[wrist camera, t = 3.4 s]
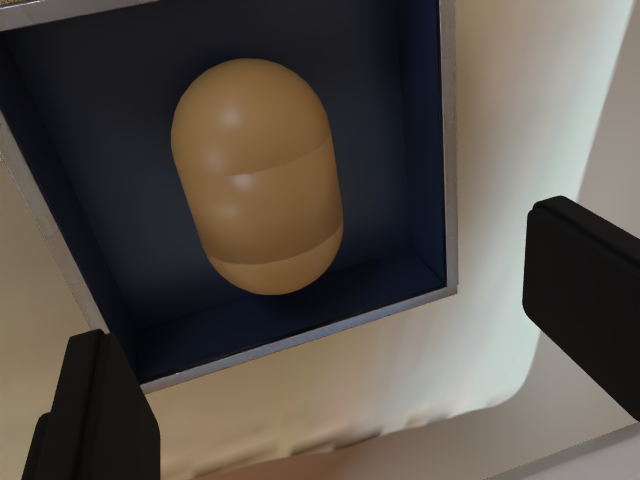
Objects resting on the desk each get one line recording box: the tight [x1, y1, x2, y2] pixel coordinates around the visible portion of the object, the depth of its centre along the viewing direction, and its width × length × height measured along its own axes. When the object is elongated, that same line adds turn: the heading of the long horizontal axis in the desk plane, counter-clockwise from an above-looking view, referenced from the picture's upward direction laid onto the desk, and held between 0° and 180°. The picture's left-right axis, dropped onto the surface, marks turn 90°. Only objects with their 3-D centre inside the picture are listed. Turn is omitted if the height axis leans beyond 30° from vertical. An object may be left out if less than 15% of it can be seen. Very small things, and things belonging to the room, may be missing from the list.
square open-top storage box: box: [0, 0, 458, 395], centre depth 18 cm, size 13×13×4 cm
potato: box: [171, 58, 343, 295], centre depth 17 cm, size 5×8×5 cm, turn 9°
